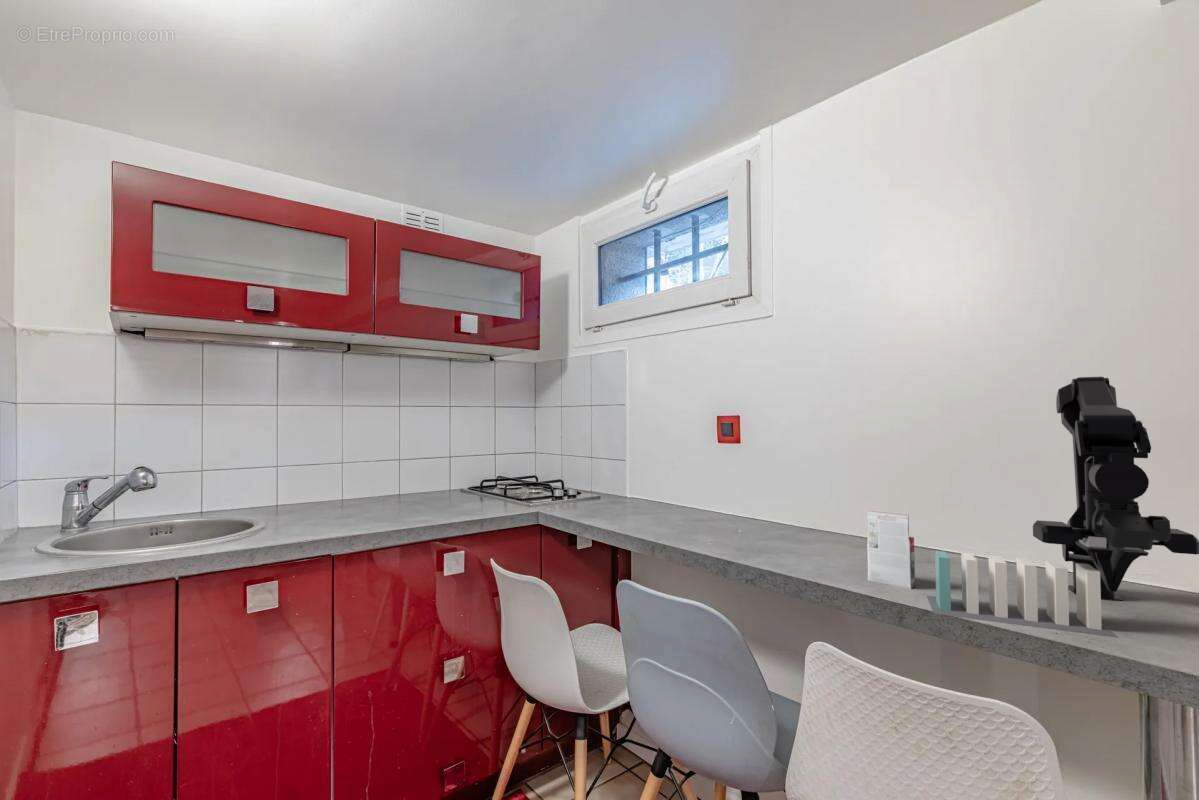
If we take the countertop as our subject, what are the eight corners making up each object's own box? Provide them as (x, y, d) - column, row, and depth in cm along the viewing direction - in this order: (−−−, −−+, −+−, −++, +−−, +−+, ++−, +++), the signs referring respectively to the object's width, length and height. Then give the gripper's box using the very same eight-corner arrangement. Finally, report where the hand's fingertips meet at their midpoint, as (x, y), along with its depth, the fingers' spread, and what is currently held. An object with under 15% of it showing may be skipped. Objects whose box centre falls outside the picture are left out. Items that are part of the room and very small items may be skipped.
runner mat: (926, 597, 102) (926, 595, 102) (1092, 617, 91) (1092, 614, 91) (933, 615, 92) (933, 613, 92) (1119, 640, 82) (1119, 637, 82)
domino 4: (1025, 620, 89) (1024, 564, 89) (1017, 610, 94) (1016, 557, 94) (1037, 621, 89) (1036, 566, 89) (1029, 611, 93) (1027, 558, 93)
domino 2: (967, 613, 93) (966, 559, 93) (962, 603, 97) (961, 553, 97) (978, 614, 92) (977, 560, 92) (973, 605, 96) (972, 553, 97)
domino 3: (996, 616, 91) (994, 562, 91) (989, 607, 95) (988, 555, 96) (1007, 618, 90) (1006, 563, 90) (1000, 608, 95) (999, 556, 95)
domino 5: (1056, 624, 88) (1055, 567, 88) (1046, 614, 92) (1045, 560, 92) (1069, 625, 87) (1067, 568, 87) (1058, 615, 91) (1057, 561, 91)
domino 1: (939, 609, 94) (938, 557, 95) (936, 600, 99) (935, 550, 99) (950, 610, 94) (949, 558, 94) (946, 602, 98) (945, 551, 98)
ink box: (872, 578, 113) (871, 508, 114) (916, 586, 108) (914, 512, 108) (867, 582, 111) (865, 510, 111) (911, 591, 105) (909, 515, 106)
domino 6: (1088, 628, 86) (1086, 570, 86) (1077, 617, 90) (1075, 562, 90) (1101, 629, 85) (1100, 571, 85) (1089, 619, 90) (1088, 564, 90)
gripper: (1053, 496, 84) (1055, 598, 83) (1221, 503, 76) (1225, 617, 75) (1030, 486, 94) (1032, 578, 93) (1177, 492, 86) (1180, 592, 86)
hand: (1111, 590), depth 87 cm, fingers closed
